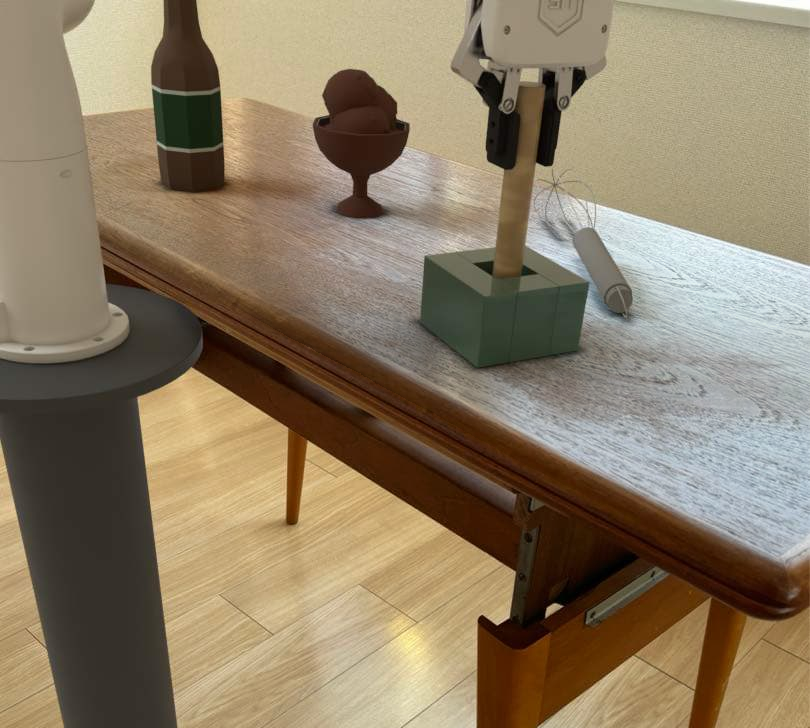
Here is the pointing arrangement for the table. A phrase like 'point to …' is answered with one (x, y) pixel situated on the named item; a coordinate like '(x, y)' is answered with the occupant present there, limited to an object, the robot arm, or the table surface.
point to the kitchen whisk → (595, 256)
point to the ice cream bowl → (359, 134)
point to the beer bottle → (187, 103)
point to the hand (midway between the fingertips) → (519, 161)
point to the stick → (519, 184)
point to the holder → (502, 306)
